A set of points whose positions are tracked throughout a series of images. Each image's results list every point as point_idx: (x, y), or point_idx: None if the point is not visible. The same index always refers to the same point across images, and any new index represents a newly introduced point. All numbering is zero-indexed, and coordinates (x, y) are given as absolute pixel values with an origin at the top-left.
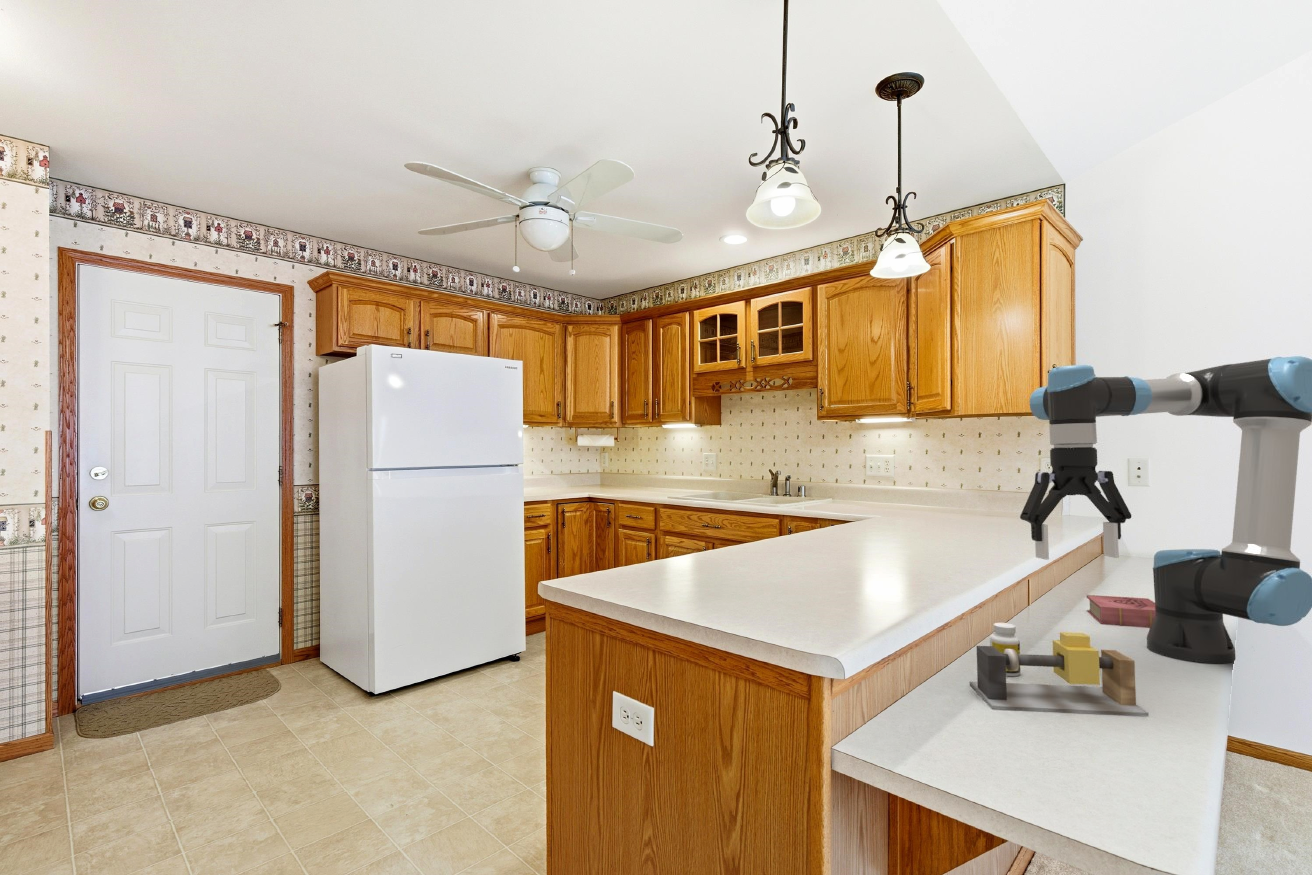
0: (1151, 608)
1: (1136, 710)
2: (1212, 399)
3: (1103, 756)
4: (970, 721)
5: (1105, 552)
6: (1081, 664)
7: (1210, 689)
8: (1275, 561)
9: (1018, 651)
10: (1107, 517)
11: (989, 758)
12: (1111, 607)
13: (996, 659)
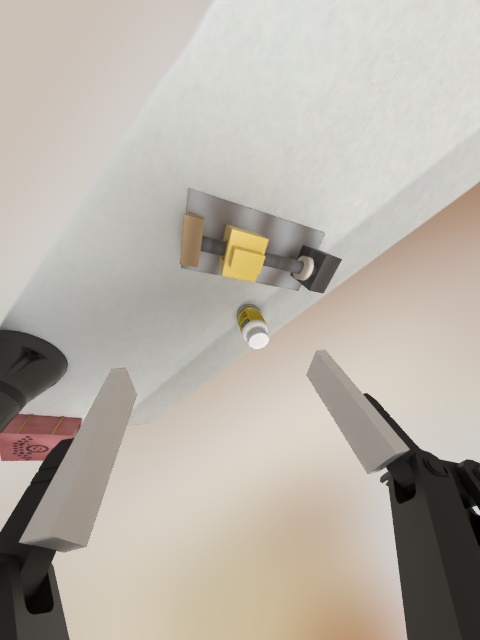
0: (13, 437)
1: (197, 197)
2: None
3: (324, 76)
4: (362, 206)
5: (132, 400)
6: (249, 232)
7: (57, 258)
8: None
9: (247, 317)
10: (46, 593)
11: (424, 107)
12: (60, 435)
13: (332, 256)
